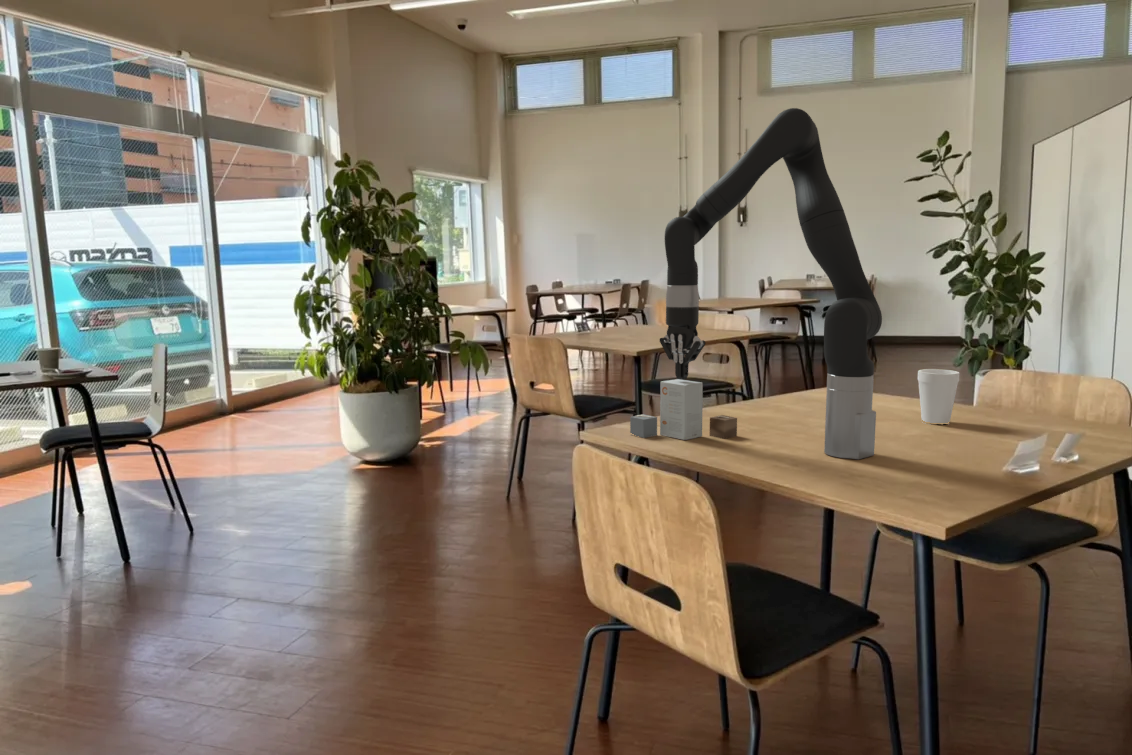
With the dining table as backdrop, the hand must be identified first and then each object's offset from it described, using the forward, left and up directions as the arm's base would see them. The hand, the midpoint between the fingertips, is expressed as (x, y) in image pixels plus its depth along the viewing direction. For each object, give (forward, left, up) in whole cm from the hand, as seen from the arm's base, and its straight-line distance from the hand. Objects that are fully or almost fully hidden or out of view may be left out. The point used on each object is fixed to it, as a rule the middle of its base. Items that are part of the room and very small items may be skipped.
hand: (681, 378), depth 189 cm
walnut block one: (-6, -8, -14) cm, 17 cm away
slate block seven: (+7, +6, -14) cm, 16 cm away
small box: (0, 0, -14) cm, 14 cm away
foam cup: (-31, -60, -14) cm, 69 cm away
